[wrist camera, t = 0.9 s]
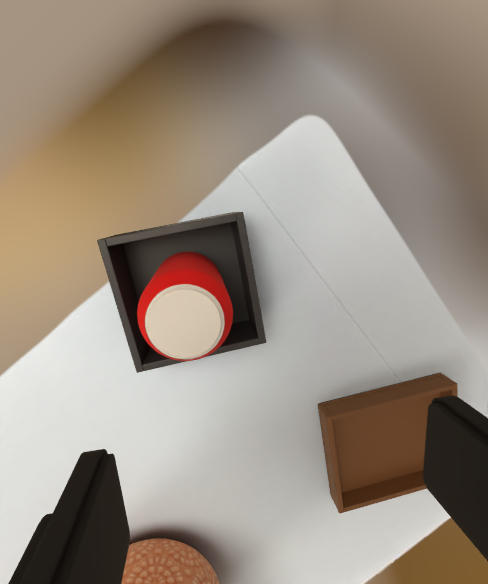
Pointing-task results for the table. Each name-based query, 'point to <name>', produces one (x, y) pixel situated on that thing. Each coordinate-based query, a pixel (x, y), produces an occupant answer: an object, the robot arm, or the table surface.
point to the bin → (166, 242)
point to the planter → (166, 564)
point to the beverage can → (185, 308)
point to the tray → (379, 440)
